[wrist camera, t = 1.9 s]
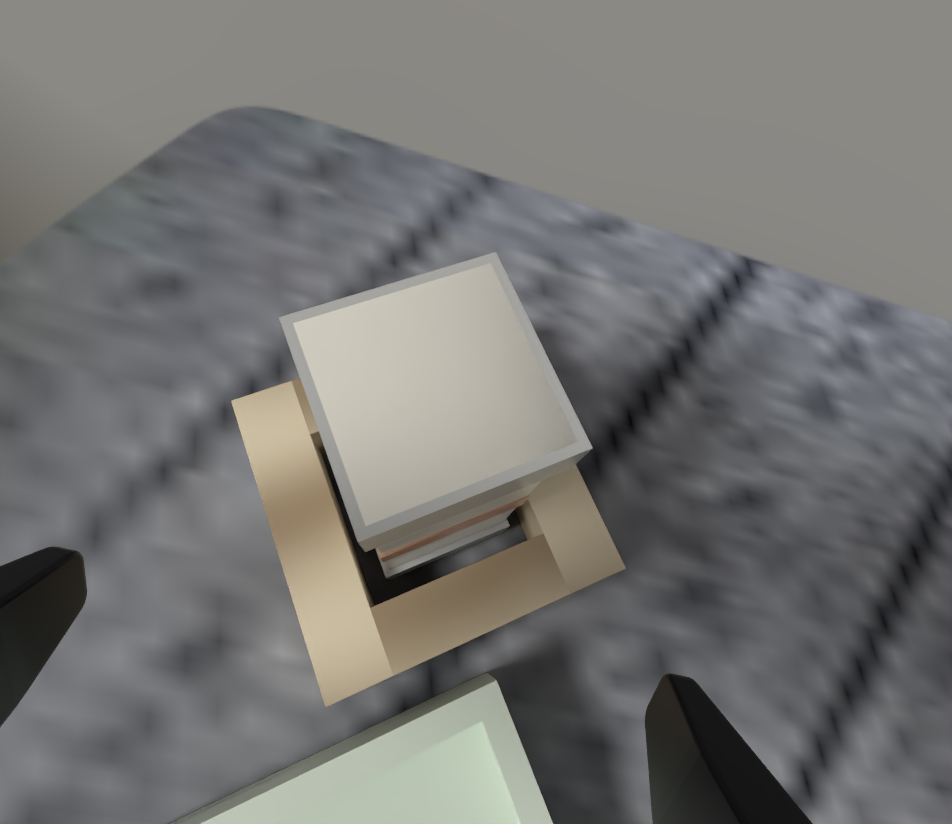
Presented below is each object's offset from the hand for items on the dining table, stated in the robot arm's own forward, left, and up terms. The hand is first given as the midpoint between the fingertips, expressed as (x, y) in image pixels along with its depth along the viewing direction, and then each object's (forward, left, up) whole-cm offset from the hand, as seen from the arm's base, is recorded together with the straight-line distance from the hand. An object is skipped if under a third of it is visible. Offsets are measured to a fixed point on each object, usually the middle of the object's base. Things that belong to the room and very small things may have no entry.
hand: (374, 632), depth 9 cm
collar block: (+4, -2, -11) cm, 12 cm away
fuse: (+4, -2, -11) cm, 12 cm away
